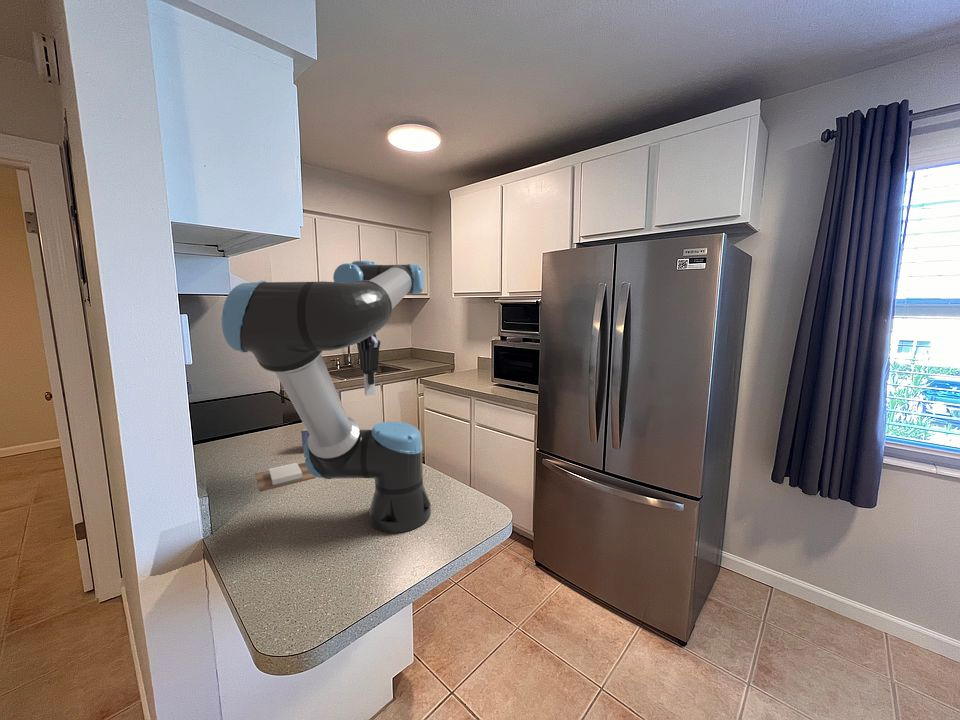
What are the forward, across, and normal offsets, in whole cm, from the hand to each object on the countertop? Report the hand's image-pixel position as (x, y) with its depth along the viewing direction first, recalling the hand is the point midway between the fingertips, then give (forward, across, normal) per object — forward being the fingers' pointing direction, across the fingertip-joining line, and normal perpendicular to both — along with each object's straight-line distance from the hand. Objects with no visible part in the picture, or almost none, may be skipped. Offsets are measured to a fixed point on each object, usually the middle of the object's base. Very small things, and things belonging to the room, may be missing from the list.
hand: (370, 394), depth 116 cm
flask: (+25, +33, +9) cm, 42 cm away
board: (+26, +16, +22) cm, 37 cm away
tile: (+24, +20, +22) cm, 38 cm away
